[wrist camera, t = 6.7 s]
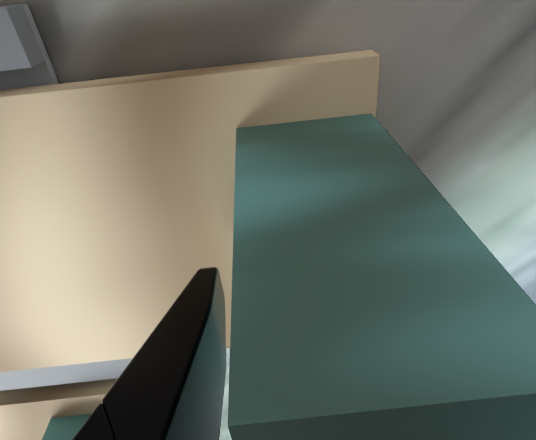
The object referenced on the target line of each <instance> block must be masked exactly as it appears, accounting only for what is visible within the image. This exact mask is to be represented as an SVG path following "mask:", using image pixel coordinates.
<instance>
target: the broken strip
mask: <svg viewBox="0 0 536 440" xmlns="http://www.w3.org/2000/svg"><path fill="white" fill-rule="evenodd" d="M117 379H118V378H115V379H106V380H96V381H87V382H78V383H68V384H59V385H50V386H40V387H31V388H22V389H12V390H3V391H0V440H72V439H73V438H74V436H75V435H76V434H77V432H78V431H79V430H80V429H81V427H82V426H83V425H84V423H85V422H86V421H87V419H88V418H89V417H90V415H91V414H92V413H93V411H94V410H95V408H96V407H97V406H98V404H100V403H103V402H102V400H103V398H104V397H105V395H106V394H107V393H108V391H109V390H110V388H111V387H112V386H113V384H114V383H115V382H116V380H117Z"/></svg>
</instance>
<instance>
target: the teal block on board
mask: <svg viewBox="0 0 536 440" xmlns="http://www.w3.org/2000/svg"><path fill="white" fill-rule="evenodd" d="M380 60H381V56H380V55H379V54H377V53H376V52H374V51H373V50H364V51H354V52H345V53H336V54H327V55H318V56H309V57H299V58H290V59H281V60H272V61H263V62H253V63H244V64H235V65H226V66H217V67H208V68H198V69H189V70H180V71H171V72H162V73H153V74H143V75H134V76H125V77H116V78H107V79H97V80H88V81H79V82H70V83H61V84H52V85H42V86H33V87H24V88H15V89H6V90H0V372H8V371H17V370H27V369H36V368H45V367H55V366H64V365H73V364H83V363H92V362H101V361H111V360H120V359H129V358H133V357H134V356H135V355H136V353H137V352H138V351H139V349H140V348H141V347H142V345H143V344H144V342H145V341H146V340H147V338H148V337H149V336H150V334H151V333H152V332H153V330H154V329H155V328H156V326H157V325H158V324H159V322H160V321H161V319H162V318H163V317H164V315H165V314H166V313H167V311H168V310H169V309H170V307H171V306H172V305H173V303H174V302H175V300H176V299H177V298H178V296H179V295H180V294H181V292H182V291H183V290H184V288H185V287H186V286H187V284H188V283H189V282H190V280H191V279H192V277H193V276H194V275H195V273H196V272H197V271H198V270H199V269H201V268H209V267H216V268H218V270H219V273H220V278H221V282H222V287H223V291H224V297H225V325H226V348H230V372H229V408H228V428H229V431H230V434H231V438H232V440H536V304H535V303H534V302H533V301H532V300H531V299H530V297H529V296H528V295H527V294H526V293H525V292H524V290H523V289H522V288H521V287H520V286H519V285H518V283H517V282H516V281H515V280H514V279H513V278H512V277H511V275H510V274H509V273H508V272H507V271H506V270H505V268H504V267H503V266H502V265H501V264H500V263H499V261H498V260H497V259H496V258H495V257H494V256H493V254H492V253H491V252H490V251H489V250H488V249H487V247H486V246H485V245H484V244H483V243H482V242H481V240H480V239H479V238H478V237H477V236H476V235H475V233H474V232H473V231H472V230H471V229H470V228H469V226H468V225H467V224H466V223H465V222H464V221H463V219H462V218H461V217H460V216H459V215H458V214H457V212H456V211H455V210H454V209H453V208H452V207H451V205H450V204H449V203H448V202H447V201H446V200H445V198H444V197H443V196H442V195H441V194H440V193H439V191H438V190H437V189H436V188H435V187H434V186H433V184H432V183H431V182H430V181H429V180H428V179H427V177H426V176H425V175H424V174H423V173H422V172H421V170H420V169H419V168H418V167H417V166H416V165H415V164H414V162H413V161H412V160H411V159H410V158H409V157H408V155H407V154H406V153H405V152H404V151H403V150H402V148H401V147H400V146H399V145H398V144H397V143H396V141H395V140H394V139H393V138H392V137H391V136H390V134H389V133H388V132H387V131H386V130H385V129H384V127H383V126H382V125H381V124H380V123H379V122H378V120H377V119H376V111H377V98H378V85H379V73H380Z"/></svg>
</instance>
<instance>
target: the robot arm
mask: <svg viewBox="0 0 536 440" xmlns="http://www.w3.org/2000/svg"><path fill="white" fill-rule="evenodd" d="M225 374H226V325H225V297H224V291H223V287H222V282H221V278H220V273H219V270H218V268H216V267H209V268H201V269H199V270H198V271H197V272H196V273H195V275H194V276H193V277H192V279H191V280H190V282H189V283H188V284H187V286H186V287H185V288H184V290H183V291H182V292H181V294H180V295H179V296H178V298H177V299H176V300H175V302H174V303H173V305H172V306H171V307H170V309H169V310H168V311H167V313H166V314H165V315H164V317H163V318H162V319H161V321H160V322H159V324H158V325H157V326H156V328H155V329H154V330H153V332H152V333H151V334H150V336H149V337H148V338H147V340H146V341H145V342H144V344H143V345H142V347H141V348H140V349H139V351H138V352H137V353H136V355H135V356H134V357H133V359H132V360H131V361H130V363H129V364H128V365H127V367H126V368H125V370H124V371H123V372H122V374H121V375H120V376H119V378H118V379H117V380H116V382H115V383H114V384H113V386H112V387H111V388H110V390H109V391H108V393H107V394H106V395H105V397H104V398H103V400H102V402H103V403H100V404H98V406H97V407H96V408H95V410H94V411H93V413H92V414H91V415H90V417H89V418H88V419H87V421H86V422H85V423H84V425H83V426H82V427H81V429H80V430H79V431H78V432H77V434H76V435H75V436H74V438H73V439H72V440H219V436H220V426H221V415H222V405H223V395H224V385H225Z"/></svg>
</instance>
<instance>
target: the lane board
mask: <svg viewBox="0 0 536 440" xmlns="http://www.w3.org/2000/svg"><path fill="white" fill-rule="evenodd" d="M52 84H59V81H58V79H57V76H56V74H55V71H54V69H53V66H52V64H51V61H50V59H49V56H48V54H47V51H46V49H45V46H44V44H43V41H42V39H41V36H40V34H39V31H38V29H37V26H36V24H35V21H34V19H33V16H32V14H31V11H30V9H29V6H28V4H27V3H25V4H16V5H7V6H0V90H6V89H15V88H24V87H33V86H42V85H52ZM132 359H133V358H129V359H120V360H111V361H101V362H92V363H83V364H73V365H64V366H55V367H45V368H36V369H27V370H17V371H8V372H0V391H3V390H12V389H22V388H31V387H40V386H50V385H59V384H68V383H78V382H87V381H96V380H106V379H115V378H119V376H120V375H121V374H122V372H123V371H124V370H125V368H126V367H127V365H128V364H129V363H130V361H131V360H132Z"/></svg>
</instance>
